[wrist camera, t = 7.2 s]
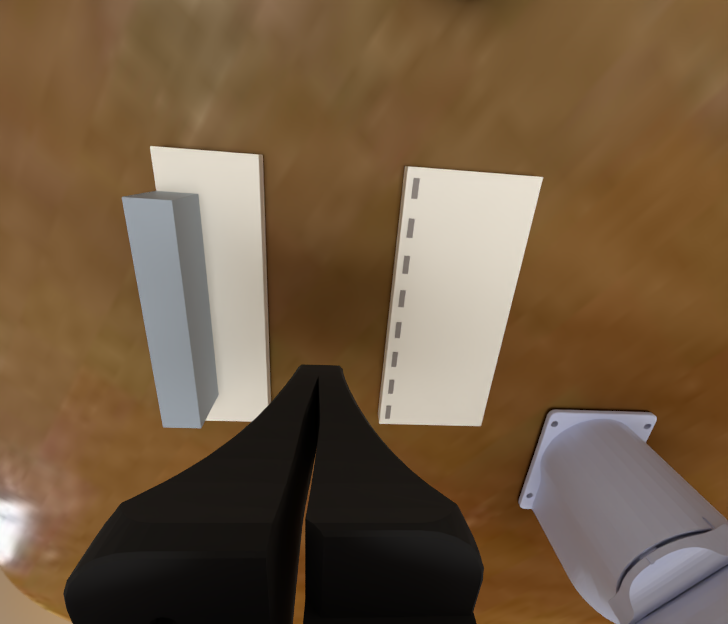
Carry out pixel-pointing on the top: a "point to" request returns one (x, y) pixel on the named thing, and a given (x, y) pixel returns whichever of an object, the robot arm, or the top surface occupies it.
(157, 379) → the stub
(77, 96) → the top surface
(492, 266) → the ticket
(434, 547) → the robot arm
